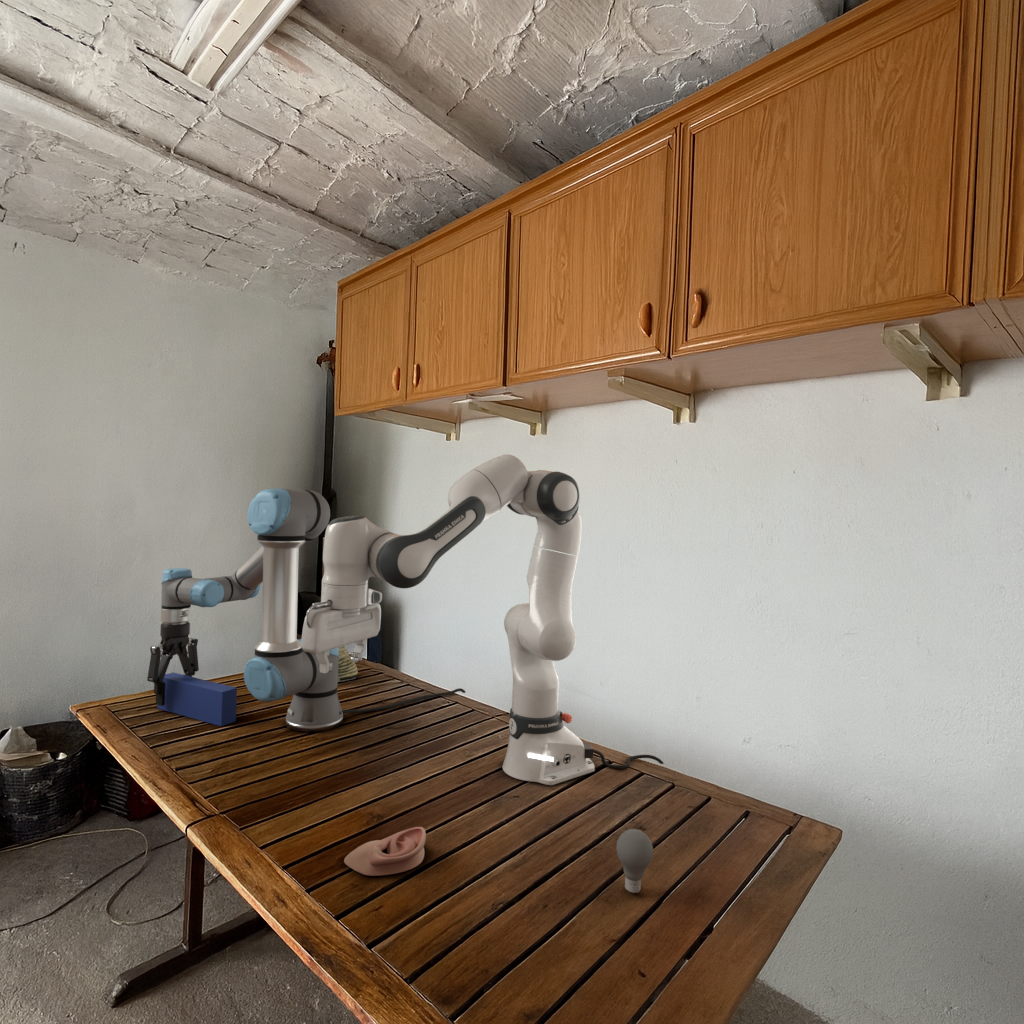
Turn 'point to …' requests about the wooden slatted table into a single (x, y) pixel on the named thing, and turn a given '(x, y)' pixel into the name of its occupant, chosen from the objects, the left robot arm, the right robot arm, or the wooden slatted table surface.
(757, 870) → the wooden slatted table surface
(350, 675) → the fossil
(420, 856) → the anatomical model
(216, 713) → the bar
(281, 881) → the wooden slatted table surface
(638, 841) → the light bulb
